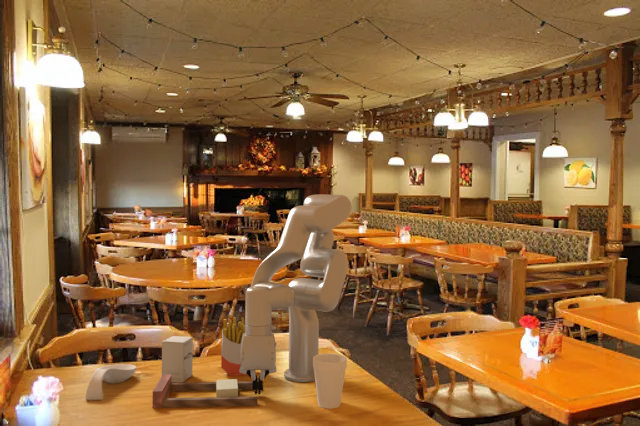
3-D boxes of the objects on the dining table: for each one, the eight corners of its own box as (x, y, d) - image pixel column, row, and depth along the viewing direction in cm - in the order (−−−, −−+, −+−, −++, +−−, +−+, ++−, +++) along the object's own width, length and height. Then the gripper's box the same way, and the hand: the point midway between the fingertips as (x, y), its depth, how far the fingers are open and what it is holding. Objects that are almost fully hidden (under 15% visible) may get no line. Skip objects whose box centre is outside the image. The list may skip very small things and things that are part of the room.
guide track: (259, 387, 166) (259, 373, 166) (257, 405, 152) (257, 389, 152) (162, 389, 164) (162, 374, 164) (152, 407, 150) (152, 391, 150)
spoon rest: (104, 373, 178) (104, 352, 178) (141, 374, 178) (141, 352, 178) (73, 401, 154) (73, 376, 154) (115, 401, 155) (115, 376, 154)
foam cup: (334, 413, 147) (335, 365, 147) (306, 406, 152) (306, 359, 152) (352, 402, 155) (352, 356, 155) (324, 395, 160) (324, 351, 160)
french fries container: (255, 375, 177) (255, 320, 177) (221, 375, 177) (221, 320, 176) (255, 370, 182) (256, 316, 181) (222, 371, 181) (223, 317, 181)
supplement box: (183, 383, 169) (183, 342, 169) (160, 381, 171) (161, 341, 171) (193, 375, 177) (193, 336, 176) (171, 373, 178) (172, 335, 178)
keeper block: (236, 392, 163) (236, 379, 163) (237, 402, 155) (238, 388, 155) (216, 393, 162) (216, 380, 162) (216, 403, 154) (216, 389, 154)
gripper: (284, 326, 163) (283, 387, 163) (233, 326, 161) (232, 388, 162) (284, 332, 155) (283, 396, 156) (231, 333, 154) (230, 397, 155)
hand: (257, 392), depth 159 cm, fingers closed
